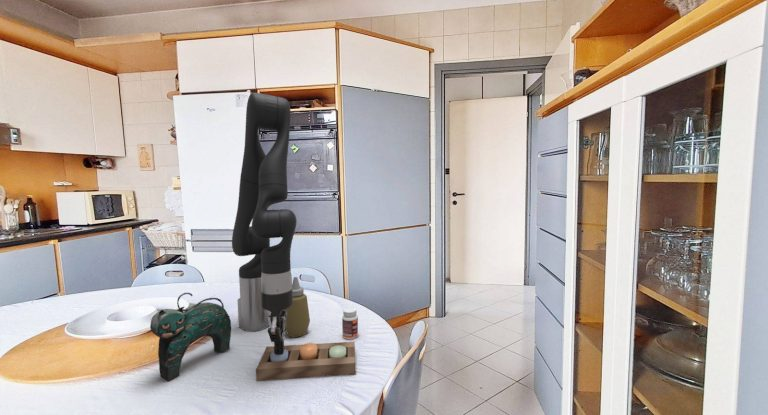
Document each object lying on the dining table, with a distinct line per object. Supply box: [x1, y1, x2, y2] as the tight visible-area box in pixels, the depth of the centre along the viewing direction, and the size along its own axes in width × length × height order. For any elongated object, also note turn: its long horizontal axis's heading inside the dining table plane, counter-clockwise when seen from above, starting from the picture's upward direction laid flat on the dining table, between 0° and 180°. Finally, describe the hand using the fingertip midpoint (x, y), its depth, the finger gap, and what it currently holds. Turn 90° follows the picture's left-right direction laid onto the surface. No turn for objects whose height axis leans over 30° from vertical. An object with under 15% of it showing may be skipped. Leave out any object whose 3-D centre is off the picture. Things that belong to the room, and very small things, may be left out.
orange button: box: [300, 342, 318, 360], centre depth 89 cm, size 4×4×3 cm
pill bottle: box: [341, 307, 359, 340], centre depth 105 cm, size 5×5×8 cm
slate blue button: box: [270, 349, 288, 362], centre depth 88 cm, size 4×4×3 cm
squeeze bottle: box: [285, 276, 311, 338], centre depth 107 cm, size 8×8×18 cm
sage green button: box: [329, 345, 346, 358], centre depth 90 cm, size 4×4×3 cm
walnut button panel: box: [255, 341, 357, 382], centre depth 89 cm, size 24×11×3 cm, turn 96°
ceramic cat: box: [150, 292, 232, 382], centre depth 90 cm, size 20×6×20 cm, turn 151°
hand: (279, 353), depth 88 cm, fingers closed
